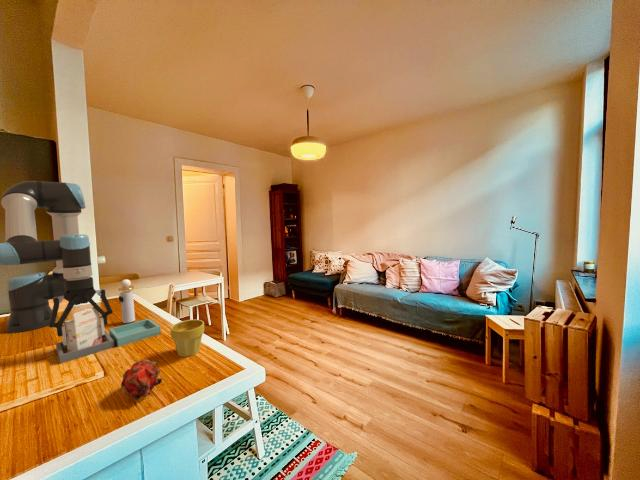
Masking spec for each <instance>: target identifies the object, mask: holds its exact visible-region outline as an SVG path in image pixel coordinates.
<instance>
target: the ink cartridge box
mask: <svg viewBox="0 0 640 480" xmlns="http://www.w3.org/2000/svg"><path fill="white" fill-rule="evenodd" d="M85 313H86V314H85ZM72 315H73V318H71V319H69V320H65V321H64V323H63V325H64V326H65V332H66V341H67V348H66V349H67V353H68V352H72V351H75V350H79V349H82V348H86V347H89V346H93V345H96V344H100V343H103V338H102V334H101V324H100V315H101V314H100V313H99V312H98V311H97V310H96V309H95V308H94V307H93V306H92V307H89V308H86V309H83V310H80V311H78V312H74V313H73V314H72Z"/></svg>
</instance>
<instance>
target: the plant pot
mask: <svg viewBox="0 0 640 480" xmlns="http://www.w3.org/2000/svg"><path fill="white" fill-rule="evenodd" d="M204 332H205V322H204V320H201V319H196V318H195V319H187V320H182V321H179V322H176V323H174V324H173V325H171V326H170V337H171V340H173V341H174V342H173V343H174V345H175V349H176V352H177V355H178V356H179V357H182V358H187V357H191V356H195V355H196V354H198V353H199V352H200V349H201V344H202V338H203V334H204Z"/></svg>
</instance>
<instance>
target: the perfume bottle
mask: <svg viewBox="0 0 640 480" xmlns="http://www.w3.org/2000/svg"><path fill="white" fill-rule="evenodd" d="M120 286H121V287H118V288H117V289H118V291H119V292H120V293H119V295H118V300H119V303H120V305H121V306H120V307H121V315H122V316H121V317H122V323H123V324H130V323H134V321H135V322H136V314H135V312H136V311H135V301H134V299H135V298H134V291H133V290H134V289H135V286H133V285H132V282H131V280H130V279H126V278H125V279H122V280H121V282H120ZM121 291H122V292H121Z"/></svg>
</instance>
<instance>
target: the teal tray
mask: <svg viewBox="0 0 640 480" xmlns="http://www.w3.org/2000/svg"><path fill="white" fill-rule="evenodd" d="M108 332H109V333H108V334H109V335H110V337H111V338H112V339H113V340H114V344H116V346H117V347H118V348H119V347H122V346H125V345H128V344H132V343H135V342H139V341H142V340H144V339H147V338H151V337H154V336H157V335H161V333H162V332H161V325H159V324H157V323H156V322H155V321H154V320H152V319H150V318H146V319H142V320H139V321H135V322H134V321H133V322H129V323H125V324H123V325H119V326H115V327H112V328H109V329H108Z"/></svg>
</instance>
